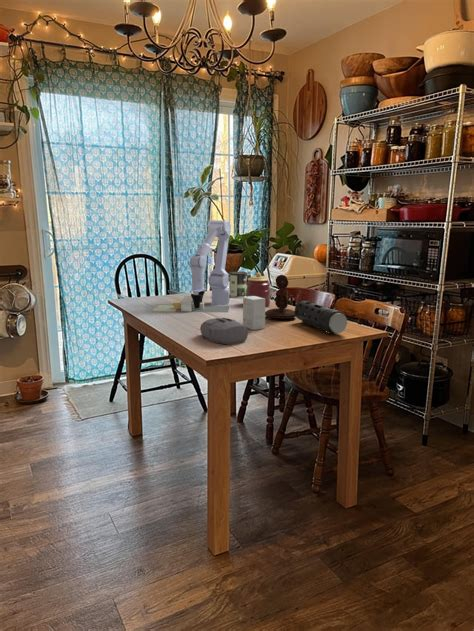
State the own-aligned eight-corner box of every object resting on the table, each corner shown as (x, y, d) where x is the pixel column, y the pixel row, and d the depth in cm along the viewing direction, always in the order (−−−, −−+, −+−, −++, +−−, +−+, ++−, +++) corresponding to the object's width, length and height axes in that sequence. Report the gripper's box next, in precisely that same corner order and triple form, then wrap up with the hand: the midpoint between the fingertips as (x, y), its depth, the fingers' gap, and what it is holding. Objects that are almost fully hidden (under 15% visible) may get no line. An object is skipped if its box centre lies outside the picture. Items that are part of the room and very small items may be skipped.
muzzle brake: (311, 321, 222) (312, 299, 219) (348, 336, 196) (349, 311, 194) (293, 323, 218) (294, 300, 216) (328, 338, 193) (329, 312, 191)
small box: (265, 328, 207) (265, 298, 204) (252, 330, 204) (253, 299, 201) (254, 324, 214) (254, 295, 211) (242, 326, 210) (242, 296, 207)
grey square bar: (194, 305, 252) (194, 296, 251) (191, 311, 238) (191, 301, 237) (185, 305, 253) (184, 296, 252) (181, 311, 238) (181, 301, 237)
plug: (204, 308, 246) (204, 302, 246) (203, 309, 244) (203, 303, 243) (172, 307, 247) (172, 301, 247) (171, 308, 244) (171, 302, 244)
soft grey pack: (252, 341, 187) (223, 331, 202) (253, 320, 185) (223, 311, 201) (220, 347, 178) (192, 336, 194) (220, 325, 176) (192, 315, 192)
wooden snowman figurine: (297, 321, 220) (299, 278, 216) (265, 321, 221) (266, 277, 217) (295, 315, 235) (297, 273, 231) (264, 314, 236) (265, 273, 231)
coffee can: (248, 295, 288) (248, 271, 285) (245, 298, 278) (245, 273, 275) (231, 294, 290) (231, 271, 287) (227, 297, 280) (227, 273, 277)
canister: (244, 307, 252) (244, 273, 248) (246, 302, 264) (247, 270, 261) (269, 308, 250) (270, 274, 247) (270, 303, 263) (271, 271, 259)
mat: (229, 306, 253) (229, 306, 253) (228, 313, 237) (228, 312, 237) (158, 305, 253) (158, 305, 253) (152, 312, 238) (152, 311, 238)
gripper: (204, 282, 235) (204, 309, 238) (207, 278, 249) (207, 304, 252) (189, 281, 235) (189, 309, 238) (193, 277, 249) (194, 303, 252)
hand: (198, 306), depth 245 cm, fingers open, 7 cm apart
